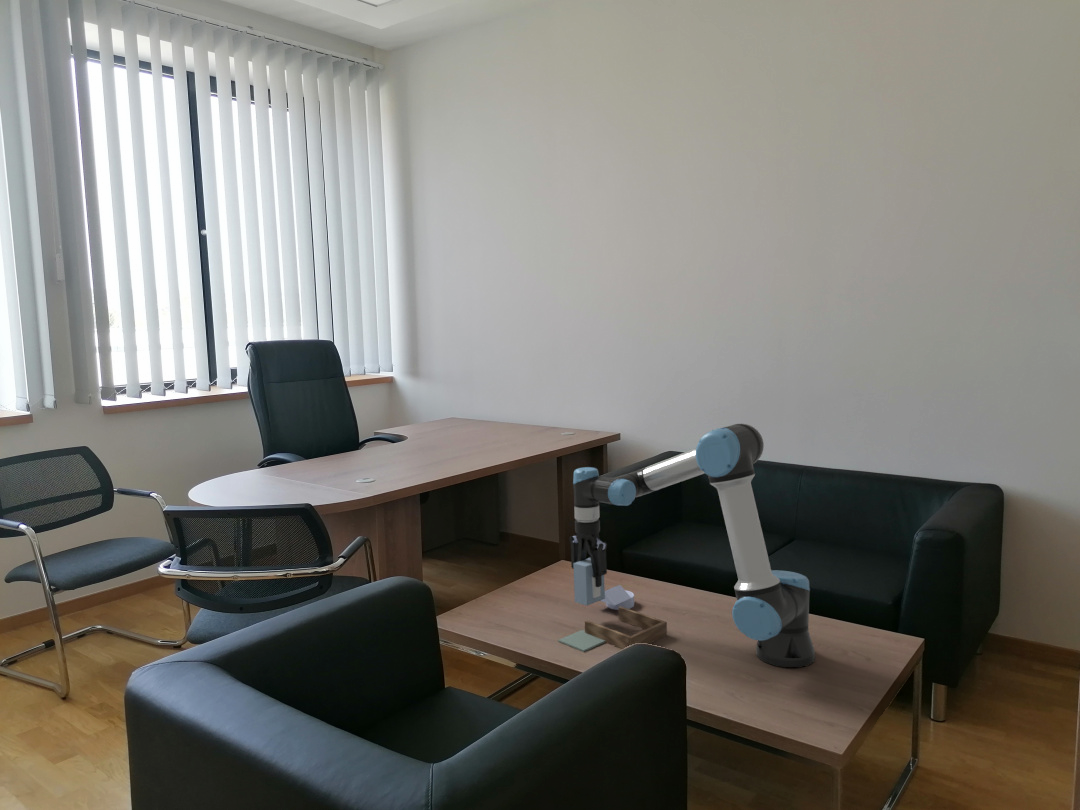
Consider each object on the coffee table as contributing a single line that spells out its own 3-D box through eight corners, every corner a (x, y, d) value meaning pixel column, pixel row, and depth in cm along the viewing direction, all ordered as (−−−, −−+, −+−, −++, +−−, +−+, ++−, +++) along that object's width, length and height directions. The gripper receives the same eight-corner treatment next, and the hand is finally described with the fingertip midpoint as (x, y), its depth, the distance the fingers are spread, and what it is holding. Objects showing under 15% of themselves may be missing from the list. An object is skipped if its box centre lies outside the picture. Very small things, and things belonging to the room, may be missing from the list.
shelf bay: (666, 635, 229) (666, 621, 229) (631, 652, 218) (630, 638, 218) (620, 619, 242) (620, 606, 241) (584, 634, 231) (584, 621, 230)
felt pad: (607, 641, 226) (607, 639, 226) (583, 651, 219) (583, 650, 219) (582, 631, 233) (582, 629, 233) (558, 641, 226) (558, 639, 226)
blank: (604, 598, 240) (603, 560, 239) (586, 605, 235) (585, 566, 234) (592, 594, 244) (591, 557, 243) (574, 601, 239) (573, 563, 237)
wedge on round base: (614, 615, 245) (639, 604, 254) (614, 594, 244) (639, 584, 253) (592, 608, 251) (617, 597, 260) (592, 588, 250) (617, 577, 259)
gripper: (618, 521, 233) (620, 597, 235) (574, 512, 246) (576, 585, 248) (601, 526, 228) (603, 604, 230) (557, 517, 241) (559, 591, 243)
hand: (589, 594), depth 239 cm, fingers closed on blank, 5 cm apart
